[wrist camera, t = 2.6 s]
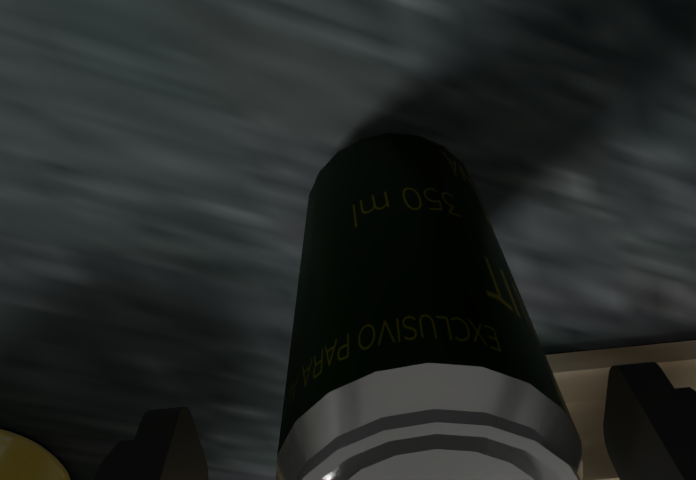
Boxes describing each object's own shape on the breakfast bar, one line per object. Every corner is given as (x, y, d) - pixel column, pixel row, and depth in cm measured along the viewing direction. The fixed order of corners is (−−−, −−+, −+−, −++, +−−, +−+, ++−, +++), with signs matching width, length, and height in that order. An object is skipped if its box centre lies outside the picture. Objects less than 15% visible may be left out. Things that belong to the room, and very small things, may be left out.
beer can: (344, 292, 22) (342, 652, 12) (281, 160, 20) (208, 468, 9) (492, 244, 21) (631, 588, 11) (445, 98, 19) (565, 365, 9)
